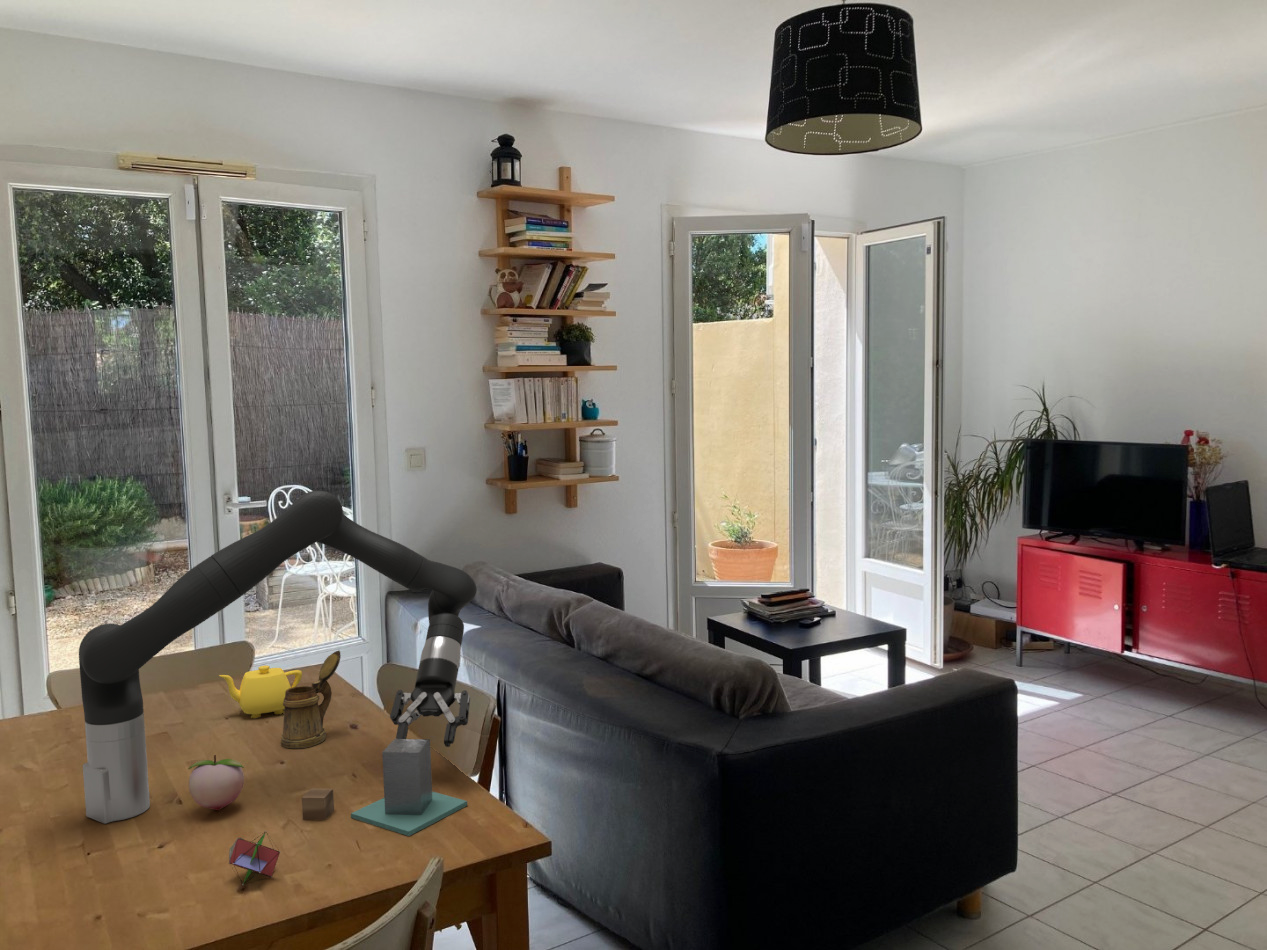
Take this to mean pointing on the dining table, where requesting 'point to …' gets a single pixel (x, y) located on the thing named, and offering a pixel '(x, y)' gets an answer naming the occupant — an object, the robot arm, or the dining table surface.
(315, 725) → the wooden mug
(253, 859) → the geometric puzzle
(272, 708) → the teapot
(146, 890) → the dining table surface
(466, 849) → the dining table surface
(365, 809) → the teal mat
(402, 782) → the block
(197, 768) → the decorative fruit
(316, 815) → the walnut block
